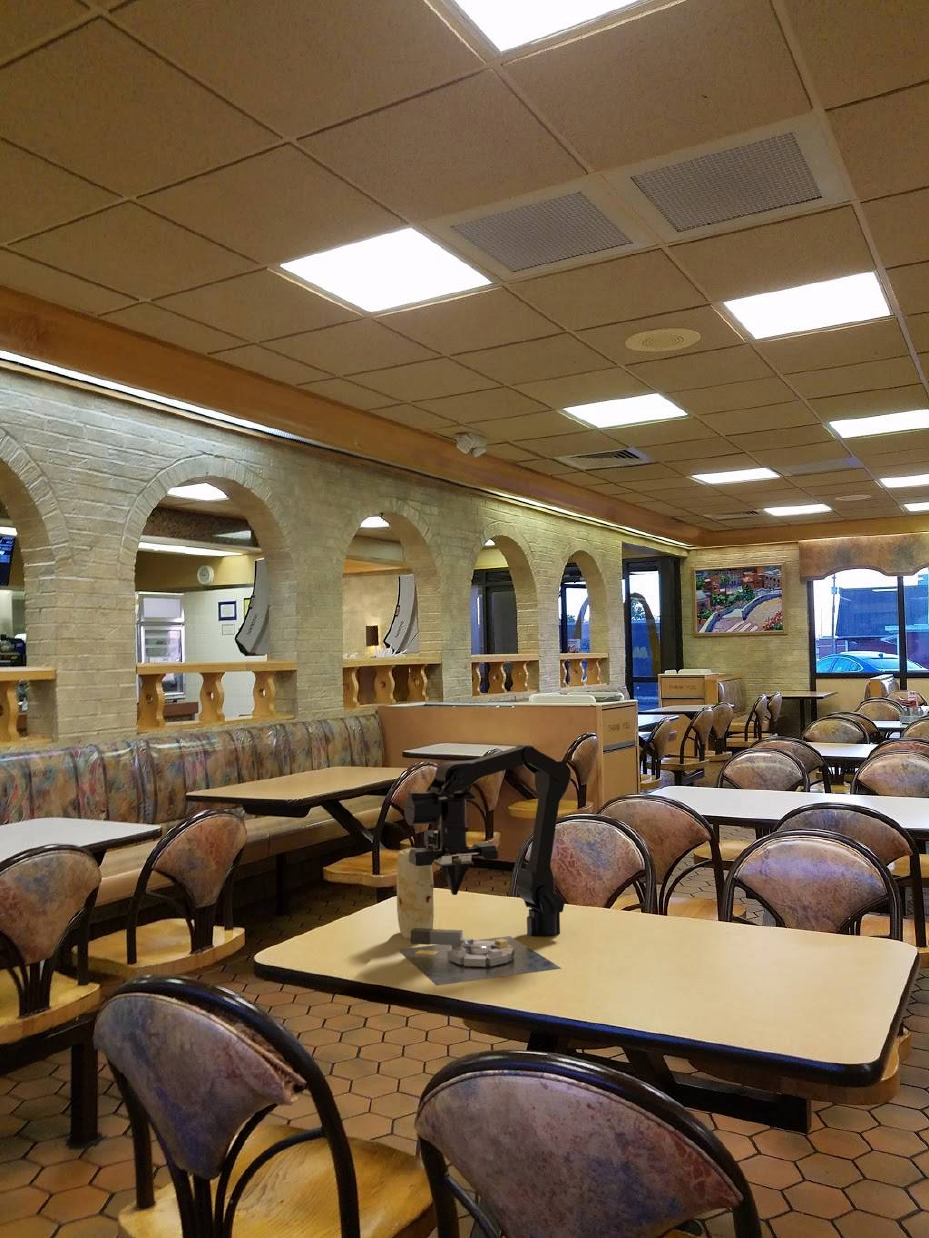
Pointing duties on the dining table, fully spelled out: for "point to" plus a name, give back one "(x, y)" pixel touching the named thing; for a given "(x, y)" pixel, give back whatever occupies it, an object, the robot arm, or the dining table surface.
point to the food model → (414, 895)
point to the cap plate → (449, 972)
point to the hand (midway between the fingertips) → (454, 894)
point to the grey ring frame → (463, 947)
